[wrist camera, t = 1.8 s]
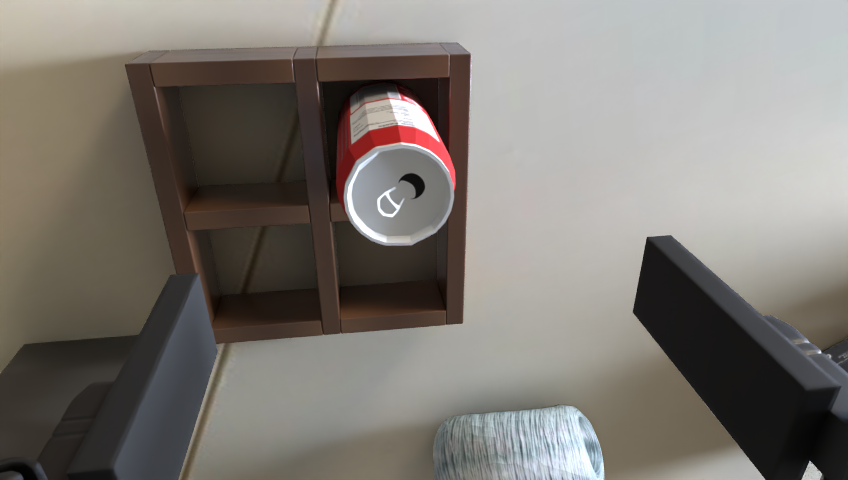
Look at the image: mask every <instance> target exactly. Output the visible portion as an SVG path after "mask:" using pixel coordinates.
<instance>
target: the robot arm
mask: <svg viewBox="0 0 848 480" xmlns="http://www.w3.org/2000/svg"><path fill="white" fill-rule="evenodd" d="M633 313H634V314H635V316H636V317H637V318H638V319H639V321H640V322H641V323H642V325H643V326H644V327H645V328H646V330H647V331H648V332H649V333H650V335H651V336H652V337H653V338H654V340H655V341H656V342H657V343H658V345H659V346H660V347H661V348H662V350H663V351H664V352H665V353H666V355H667V356H668V357H669V359H670V360H671V361H672V362H673V364H674V365H675V366H676V367H677V369H678V370H679V371H680V372H681V374H682V375H683V376H684V377H685V379H686V380H687V381H688V382H689V384H690V385H691V386H692V387H693V389H694V390H695V391H696V393H697V394H698V395H699V396H700V398H701V399H702V400H703V401H704V403H705V404H706V405H707V406H708V408H709V409H710V410H711V411H712V413H713V414H714V415H715V416H716V418H717V419H718V420H719V421H720V423H721V424H722V425H723V427H724V428H725V429H726V430H727V432H728V433H729V434H730V435H731V437H732V438H733V439H734V440H735V442H736V443H737V444H738V445H739V447H740V448H741V449H742V450H743V452H744V453H745V454H746V455H747V457H748V458H749V459H750V461H751V462H752V463H753V464H754V466H755V467H756V468H757V469H758V471H759V472H760V473H761V474H762V476H763V477H764V478H765V479H766V480H801V479H802V477H803V475H804V472H805V470H806V468H807V465H808V463H809V461H811V462H812V463H813V464H814V465H815V466H816V467H817V469H818V470H819V471H820V472H821V473H822V476H821V478H820V480H848V373H847V372H846V371H845V370H843V369H842V368H841V367H840V366H839V365H837V364H836V363H835V362H834V361H833V360H832V359H830V358H829V357H828V356H827V355H826V354H822V353H821V350H820V349H819V348H817V347H816V346H815V345H814V344H813V343H809V342H808V339H807V338H806V337H804V336H803V335H802V334H801V333H800V332H798V331H797V330H796V329H795V328H794V327H792V326H791V325H789V324H787V323H785V322H783V321H781V320H779V319H777V318H775V317H773V316H771V315H770V316H762V315H761V314H760V313H759V312H757V311H756V310H755V309H754V308H753V307H752V306H751V305H750V304H748V303H747V302H746V301H745V300H744V299H743V298H742V297H740V296H739V295H738V294H737V293H736V292H735V291H734V290H732V289H731V288H730V287H729V286H728V285H727V284H726V283H725V282H723V281H722V280H721V279H720V278H719V277H718V276H717V275H715V274H714V273H713V272H712V271H711V270H710V269H709V268H707V267H706V266H705V265H704V264H703V263H702V262H701V261H699V260H698V259H697V258H696V257H695V256H694V255H693V254H692V253H690V252H689V251H688V250H687V249H686V248H685V247H684V246H682V245H681V244H680V243H679V242H678V241H677V240H676V239H674V238H673V237H672V236H671V235H668V236H656V237H647V239H646V245H645V250H644V255H643V261H642V266H641V271H640V277H639V282H638V287H637V292H636V298H635V303H634V308H633ZM217 352H218V350H217V346H216V342H215V338H214V334H213V330H212V325H211V321H210V317H209V313H208V309H207V305H206V301H205V296H204V292H203V288H202V284H201V280H200V276H199V273H191V274H179V275H170V277H169V278H168V280H167V282H166V284H165V286H164V288H163V290H162V292H161V294H160V296H159V298H158V299H157V301H156V303H155V305H154V307H153V309H152V311H151V313H150V315H149V317H148V319H147V320H146V322H145V324H144V326H143V328H142V330H141V332H140V334H139V336H138V338H137V340H136V341H135V343H134V345H133V347H132V349H131V351H130V353H129V355H128V357H127V359H126V361H125V362H124V364H123V366H122V368H121V370H120V372H119V374H118V376H117V378H116V380H115V381H107V382H97V383H91V384H90V385H88V386H87V387H86V388H85V389H84V390H83V391H82V392H81V393H80V394H78V395H77V396H76V397H75V398H74V399H73V400H72V401H71V403H70V405H69V406H68V408H67V410H66V411H65V413H64V415H63V416H62V418H61V422H59V423H58V425H57V426H56V428H55V430H54V431H53V433H52V437H50V438H49V440H48V441H47V443H46V445H45V446H44V448H43V450H42V452H41V453H40V455H39V457H38V458H37V460H35V459H33V458H32V457H24V456H16V457H11V458H6V459H2V460H0V480H178V479H179V475H180V472H181V469H182V466H183V462H184V459H185V456H186V453H187V449H188V446H189V443H190V440H191V436H192V433H193V430H194V427H195V424H196V420H197V417H198V414H199V411H200V407H201V404H202V401H203V398H204V394H205V391H206V388H207V385H208V381H209V378H210V375H211V372H212V368H213V365H214V362H215V359H216V355H217Z"/></svg>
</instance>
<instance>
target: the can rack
mask: <svg viewBox="0 0 848 480" xmlns="http://www.w3.org/2000/svg"><path fill="white" fill-rule="evenodd" d="M471 63H472V54H471V53H470V52H468V51H467V50H466V49H465V48H464V47H462V46H461V45H460V44H459V43H439V44H438V43H424V44H386V45H349V46H319V48H318V47H317V46H314V47H298V48H297V47H272V48H234V49H196V50H171V51H169V50H163V51H148V52H147V53H145V54H143V55H141V56H139V57H137V58H135V59H134V60H132V61H130V62H128V63H126V64H125V67H126V71H127V75H128V79H129V83H130V87H131V91H132V95H133V100H134V104H135V108H136V112H137V116H138V120H139V124H140V128H141V132H142V136H143V140H144V144H145V148H146V152H147V156H148V160H149V164H150V168H151V172H152V176H153V180H154V184H155V188H156V193H157V197H158V201H159V205H160V209H161V213H162V217H163V221H164V225H165V229H166V233H167V237H168V241H169V245H170V249H171V253H172V257H173V261H174V265H175V269H176V273H177V275H179V274H191V273H199V276H200V280H201V284H202V288H203V292H204V296H205V301H206V305H207V309H208V313H209V317H210V321H211V325H212V330H213V334H214V338H215V342H216V344H221V343H233V342H245V341H257V340H269V339H282V338H294V337H306V336H318V335H323V334H324V335H328V334H340V333H342V334H343V333H355V332H367V331H379V330H391V329H403V328H415V327H428V326H440V325H450V324H462V323H463V311H464V280H465V249H466V218H467V187H468V156H469V125H470V94H471ZM414 78H438V134H439V136H440V138H441V140H442V142H443V144H444V146H445V148H446V150H447V152H448V154H449V156H450V158H451V161H452V164H453V167H454V170H455V189H454V201H453V205H452V210H451V212H450V214H449V216H448V218H447V220H446V222H445V223H444V224H443V225H442V226H441V228H440V229H439V230H438V247H437V280H425V281H412V282H398V283H384V284H371V285H357V286H344V287H340V280H339V268H338V257H337V246H336V235H335V224H334V222H339V221H350V219H349V217H348V216H347V215H346V214H345V212H344V210H343V208H342V206H341V204H340V202H339V199H338V194H337V188H336V179H330V168H329V157H328V146H327V135H326V123H325V112H324V101H323V90H322V82H324V81H354V80H384V79H414ZM294 82H295V88H296V97H297V106H298V115H299V124H300V133H301V142H302V151H303V160H304V169H305V178H306V181H291V182H272V183H253V184H234V185H215V186H200V187H199V186H198V181H197V176H196V171H195V166H194V162H193V157H192V152H191V147H190V142H189V138H188V133H187V128H186V123H185V118H184V114H183V109H182V104H181V99H180V94H179V90H178V86H205V85H235V84H266V83H294ZM310 222H311V231H312V240H313V249H314V258H315V267H316V276H317V285H318V289H304V290H290V291H277V292H263V293H250V294H236V295H223V296H221V291H220V286H219V282H218V277H217V272H216V267H215V262H214V258H213V253H212V248H211V243H210V238H209V234H208V229H223V228H240V227H256V226H273V225H289V224H305V223H310Z"/></svg>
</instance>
